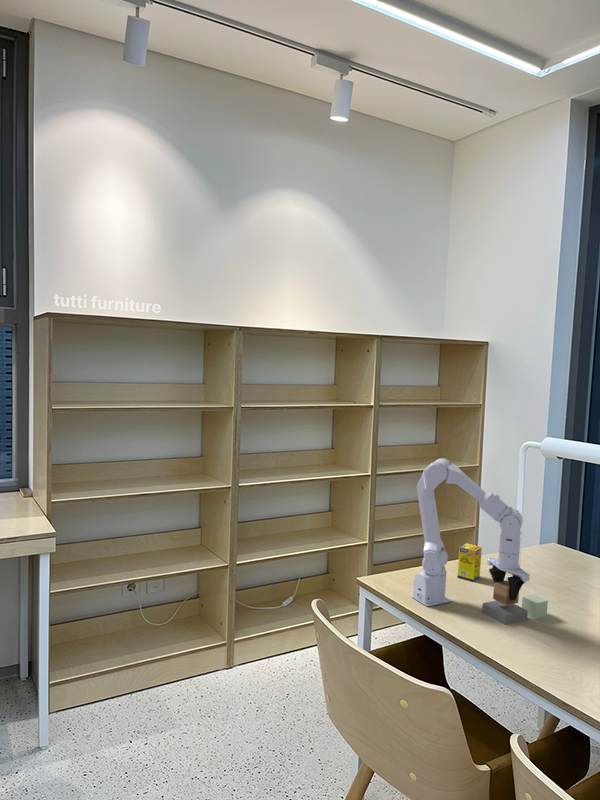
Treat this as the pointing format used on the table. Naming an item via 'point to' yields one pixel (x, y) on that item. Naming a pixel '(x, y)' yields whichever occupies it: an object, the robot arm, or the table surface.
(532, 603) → the sage green cube
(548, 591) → the table surface
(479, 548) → the supplement box
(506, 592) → the walnut cube
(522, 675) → the table surface
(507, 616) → the charcoal base block
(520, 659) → the table surface
